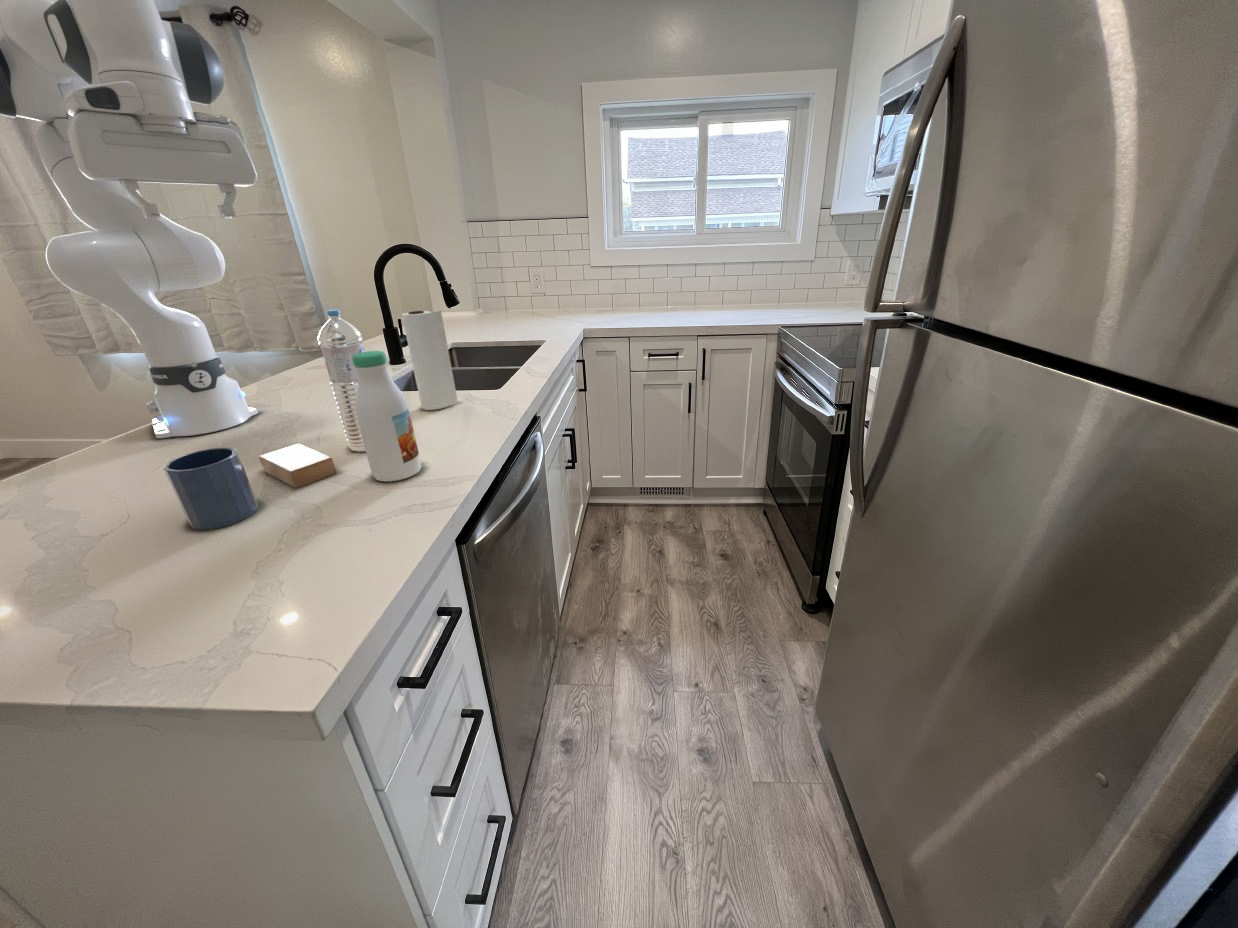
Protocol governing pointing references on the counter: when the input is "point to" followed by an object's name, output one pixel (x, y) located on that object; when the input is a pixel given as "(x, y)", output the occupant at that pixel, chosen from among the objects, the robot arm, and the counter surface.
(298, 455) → the wooden block
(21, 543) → the counter surface
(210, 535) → the counter surface
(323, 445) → the counter surface
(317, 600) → the counter surface
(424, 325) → the paper towel roll
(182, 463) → the cup
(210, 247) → the robot arm
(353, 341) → the water bottle
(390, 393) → the milk bottle
